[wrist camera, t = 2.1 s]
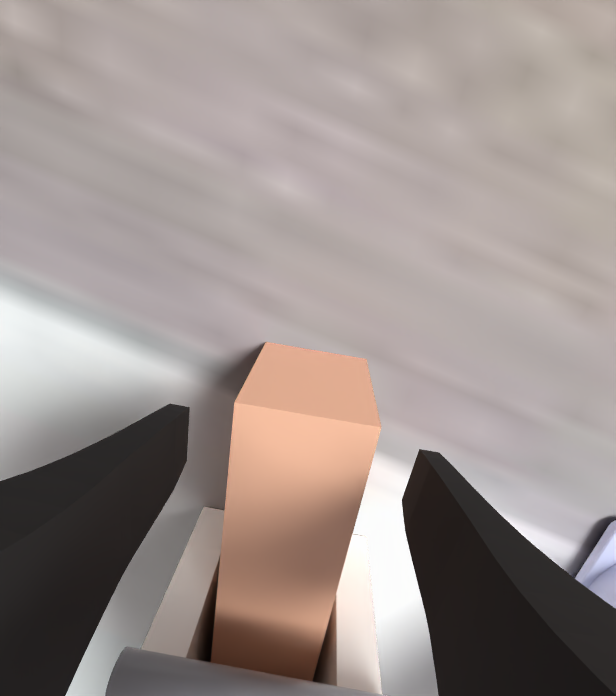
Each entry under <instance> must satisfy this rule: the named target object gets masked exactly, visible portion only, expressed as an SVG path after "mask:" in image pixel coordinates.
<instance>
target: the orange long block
mask: <svg viewBox="0 0 616 696" xmlns="http://www.w3.org/2000/svg"><path fill="white" fill-rule="evenodd" d="M380 430H381V424H380V419H379V415H378V410H377V406H376V401H375V396H374V392H373V387H372V383H371V378H370V374H369V369H368V364H367V360H366V359H363V358H357V357H351V356H345V355H339V354H333V353H327V352H322V351H316V350H310V349H304V348H298V347H292V346H286V345H281V344H275V343H269V342H266V343H265V345H264V347H263V349H262V350H261V352H260V354H259V356H258V358H257V360H256V362H255V364H254V366H253V368H252V370H251V372H250V373H249V375H248V377H247V379H246V381H245V383H244V385H243V387H242V389H241V391H240V393H239V395H238V396H237V398H236V400H235V402H234V412H233V423H232V434H231V445H230V456H229V467H228V478H227V489H226V500H225V511H224V522H223V533H222V544H221V555H220V566H219V577H218V588H217V599H216V610H215V621H214V632H213V643H212V654H211V663H216V664H222V665H227V666H232V667H238V668H243V669H248V670H254V671H259V672H265V673H270V674H275V675H281V676H286V677H291V678H297V679H302V680H307V681H313V677H314V673H315V669H316V666H317V662H318V658H319V655H320V651H321V647H322V644H323V640H324V636H325V633H326V629H327V625H328V622H329V618H330V614H331V611H332V607H333V603H334V600H335V596H336V592H337V589H338V585H339V581H340V578H341V574H342V570H343V567H344V563H345V559H346V555H347V552H348V548H349V544H350V541H351V537H352V533H353V530H354V526H355V522H356V519H357V515H358V511H359V508H360V504H361V500H362V497H363V493H364V489H365V486H366V482H367V478H368V475H369V471H370V467H371V464H372V460H373V456H374V453H375V449H376V445H377V442H378V438H379V434H380Z"/></svg>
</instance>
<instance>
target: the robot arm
mask: <svg viewBox="0 0 616 696" xmlns="http://www.w3.org/2000/svg"><path fill="white" fill-rule="evenodd" d="M188 426H189V407H185V406H180V405H174V404H169V405H167V406H165V407H163V408H161V409H159V410H157V411H155V412H154V413H152V414H150V415H148V416H146V417H145V418H143V419H141V420H139V421H137V422H136V423H134V424H132V425H130V426H128V427H126V428H124V429H123V430H121V431H119V432H117V433H115V434H113V435H111V436H109V437H107V438H105V439H103V440H101V441H99V442H97V443H95V444H93V445H91V446H89V447H87V448H85V449H82V450H80V451H78V452H76V453H74V454H72V455H69V456H67V457H65V458H62V459H60V460H58V461H55V462H53V463H50V464H47V465H45V466H42V467H40V468H37V469H35V470H32V471H29V472H27V473H24V474H21V475H18V476H15V477H12V478H9V479H6V480H3V481H0V696H65V695H66V693H67V691H68V688H69V686H70V684H71V682H72V680H73V677H74V675H75V673H76V671H77V669H78V666H79V664H80V662H81V660H82V658H83V655H84V653H85V651H86V649H87V647H88V645H89V643H90V641H91V639H92V636H93V634H94V632H95V630H96V628H97V626H98V624H99V622H100V620H101V617H102V615H103V613H104V611H105V609H106V607H107V605H108V603H109V601H110V599H111V597H112V595H113V593H114V591H115V589H116V587H117V585H118V583H119V581H120V579H121V577H122V575H123V573H124V571H125V570H126V568H127V566H128V564H129V563H130V561H131V559H132V557H133V556H134V554H135V552H136V551H137V549H138V548H139V546H140V544H141V543H142V541H143V539H144V538H145V536H146V535H147V533H148V531H149V530H150V528H151V526H152V525H153V523H154V521H155V520H156V518H157V517H158V515H159V513H160V512H161V510H162V508H163V507H164V505H165V503H166V502H167V500H168V498H169V497H170V495H171V493H172V492H173V490H174V488H175V486H176V483H177V481H178V479H179V477H180V475H181V472H182V470H183V468H184V466H185V463H186V461H187V444H188ZM402 506H403V516H404V524H405V531H406V536H407V541H408V545H409V549H410V553H411V557H412V561H413V565H414V569H415V573H416V577H417V581H418V585H419V589H420V593H421V597H422V601H423V605H424V609H425V614H426V618H427V623H428V628H429V633H430V640H431V646H432V652H433V659H434V665H435V672H436V679H437V686H438V694H439V696H616V520H615V521H613V522H612V523H611V524H610V525H609V526H608V528H607V529H606V531H605V532H604V534H603V535H602V537H601V539H600V540H599V542H598V543H597V545H596V546H595V548H594V549H593V551H592V552H591V554H590V556H589V557H588V559H587V560H586V562H585V563H584V565H583V566H582V568H581V570H580V571H579V573H578V574H577V576H576V577H575V578H573V577H572V576H571V575H569V574H568V573H567V572H566V571H564V570H563V569H562V568H560V567H559V566H558V565H557V564H556V563H554V562H553V561H552V560H551V559H550V558H548V557H547V556H546V555H545V554H544V553H542V552H541V551H540V550H539V549H537V548H536V547H535V546H534V545H533V544H532V543H531V542H529V541H528V540H527V539H526V538H525V537H524V536H523V535H521V534H520V533H519V532H518V531H517V530H516V529H515V528H514V527H513V526H512V525H511V524H510V523H509V522H508V521H506V520H505V519H504V518H503V517H502V516H501V515H500V514H499V513H498V512H497V511H496V510H495V509H494V508H493V507H492V506H491V505H490V504H489V503H488V502H487V501H486V500H485V499H484V498H483V497H482V496H481V495H480V494H479V493H478V492H477V491H476V490H475V489H474V488H473V487H472V486H471V485H470V484H469V483H468V482H467V480H466V479H465V478H464V477H463V476H462V475H461V474H460V473H459V472H458V471H457V470H456V469H455V468H454V467H453V466H452V465H451V464H450V463H449V462H448V461H447V460H446V459H445V458H444V457H443V456H442V455H441V454H440V453H438V452H432V451H427V450H421V449H419V452H418V455H417V458H416V461H415V464H414V467H413V469H412V472H411V475H410V478H409V481H408V484H407V487H406V490H405V492H404V495H403V498H402Z"/></svg>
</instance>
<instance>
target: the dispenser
mask: <svg viewBox="0 0 616 696" xmlns="http://www.w3.org/2000/svg"><path fill="white" fill-rule="evenodd" d="M224 511H225V510H220V509H214V508H209V507H203V509H202V512H201V514H200V516H199V518H198V521H197V523H196V525H195V527H194V530H193V532H192V534H191V536H190V539H189V541H188V543H187V546H186V548H185V550H184V552H183V555H182V557H181V559H180V561H179V564H178V566H177V568H176V570H175V573H174V575H173V577H172V579H171V582H170V584H169V586H168V589H167V591H166V593H165V595H164V598H163V600H162V602H161V604H160V607H159V609H158V611H157V613H156V616H155V618H154V620H153V622H152V625H151V627H150V629H149V632H148V634H147V636H146V638H145V641H144V643H143V645H142V647H141V649H136V648H131V647H125V648H124V650H123V651H122V652H121V654H120V656H119V658H118V660H117V662H116V664H115V666H114V668H113V671H112V673H111V676H110V679H109V682H108V686H107V689H106V695H105V696H387V695H382V686H381V676H380V666H379V656H378V646H377V636H376V626H375V616H374V606H373V596H372V586H371V576H370V566H369V556H368V546H367V537H365V536H360V535H354V534H352V537H351V541H350V544H349V548H348V552H347V555H346V559H345V563H344V567H343V570H342V574H341V578H340V581H339V585H338V589H337V592H336V596H335V600H334V603H333V607H332V611H331V614H330V618H329V622H328V625H327V629H326V633H325V636H324V640H323V644H322V647H321V651H320V655H319V658H318V662H317V666H316V669H315V673H314V677H313V681H307V680H302V679H297V678H291V677H286V676H281V675H275V674H270V673H265V672H259V671H254V670H248V669H243V668H238V667H232V666H227V665H222V664H216V663H211V654H212V643H213V632H214V621H215V610H216V599H217V588H218V577H219V566H220V555H221V544H222V533H223V522H224Z"/></svg>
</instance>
